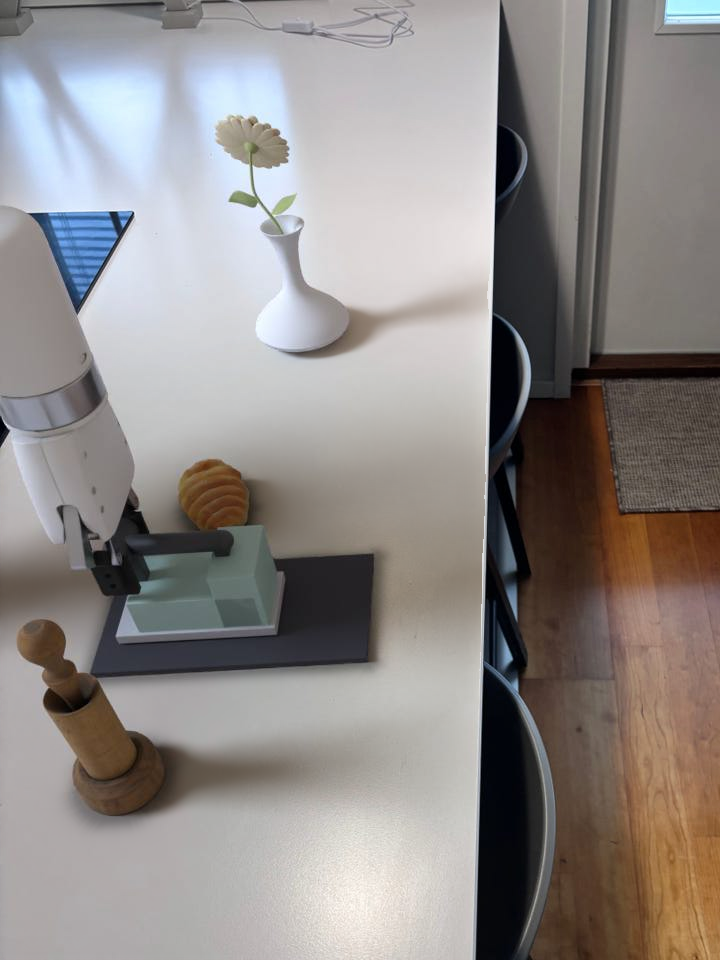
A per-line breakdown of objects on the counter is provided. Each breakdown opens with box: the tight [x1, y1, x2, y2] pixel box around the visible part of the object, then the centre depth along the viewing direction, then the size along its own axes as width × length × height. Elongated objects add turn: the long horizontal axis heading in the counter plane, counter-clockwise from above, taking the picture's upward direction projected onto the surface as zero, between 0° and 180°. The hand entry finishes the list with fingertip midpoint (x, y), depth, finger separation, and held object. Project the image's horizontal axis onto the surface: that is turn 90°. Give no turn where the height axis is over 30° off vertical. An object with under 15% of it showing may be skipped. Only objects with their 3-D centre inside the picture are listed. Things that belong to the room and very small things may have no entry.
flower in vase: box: [213, 113, 351, 353], centre depth 111 cm, size 13×11×25 cm
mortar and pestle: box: [15, 618, 165, 816], centre depth 71 cm, size 7×6×18 cm
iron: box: [101, 518, 285, 644], centre depth 85 cm, size 14×7×10 cm, turn 91°
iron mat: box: [89, 552, 375, 678], centre depth 89 cm, size 24×13×1 cm, turn 92°
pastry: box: [177, 458, 250, 531], centre depth 97 cm, size 9×7×4 cm
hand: (129, 568), depth 84 cm, fingers closed on iron, 4 cm apart
